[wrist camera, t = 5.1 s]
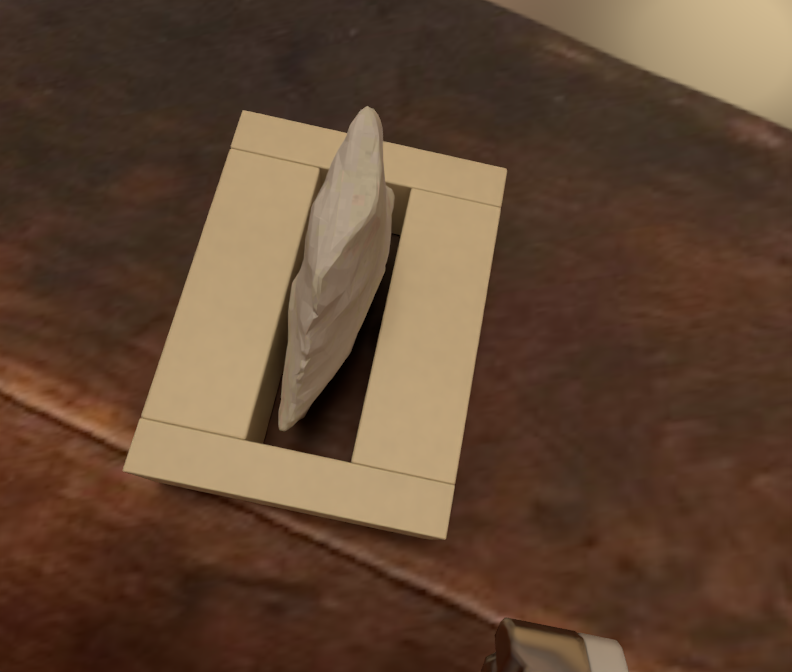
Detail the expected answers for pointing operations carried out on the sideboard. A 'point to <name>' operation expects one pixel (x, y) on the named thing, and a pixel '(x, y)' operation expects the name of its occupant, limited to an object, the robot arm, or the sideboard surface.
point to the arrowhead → (337, 266)
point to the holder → (268, 337)
